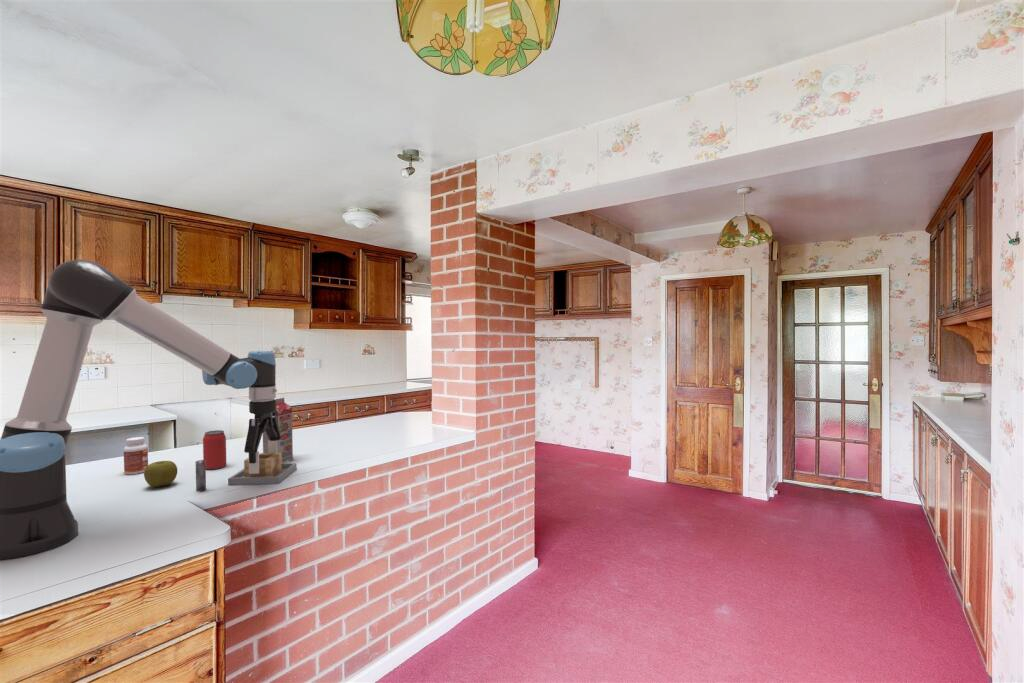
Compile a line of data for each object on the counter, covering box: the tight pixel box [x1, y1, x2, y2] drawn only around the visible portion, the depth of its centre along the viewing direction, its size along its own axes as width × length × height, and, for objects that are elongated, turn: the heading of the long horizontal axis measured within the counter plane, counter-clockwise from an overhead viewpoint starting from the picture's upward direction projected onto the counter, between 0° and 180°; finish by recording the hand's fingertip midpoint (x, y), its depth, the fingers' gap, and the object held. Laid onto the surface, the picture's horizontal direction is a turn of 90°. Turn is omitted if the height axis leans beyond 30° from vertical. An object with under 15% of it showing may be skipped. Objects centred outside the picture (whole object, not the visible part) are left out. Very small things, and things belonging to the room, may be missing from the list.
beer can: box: [202, 429, 227, 471], centre depth 159 cm, size 7×7×12 cm
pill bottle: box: [123, 436, 149, 475], centre depth 154 cm, size 6×6×11 cm
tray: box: [227, 462, 298, 486], centre depth 149 cm, size 15×15×2 cm
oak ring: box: [243, 452, 282, 477], centre depth 148 cm, size 8×8×6 cm
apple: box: [143, 460, 178, 488], centre depth 140 cm, size 8×8×7 cm
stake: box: [195, 459, 207, 492], centre depth 136 cm, size 2×2×8 cm
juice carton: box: [262, 397, 294, 463], centre depth 166 cm, size 7×7×22 cm
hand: (264, 466), depth 149 cm, fingers open, 13 cm apart
